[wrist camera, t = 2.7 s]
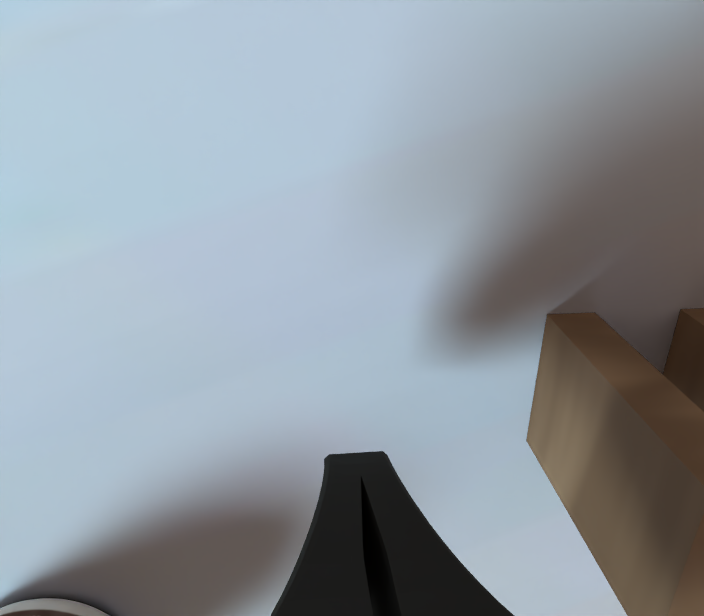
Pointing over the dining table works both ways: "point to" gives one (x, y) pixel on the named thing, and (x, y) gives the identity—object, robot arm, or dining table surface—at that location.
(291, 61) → the dining table surface
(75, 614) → the supplement bottle
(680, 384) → the domino
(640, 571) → the domino
